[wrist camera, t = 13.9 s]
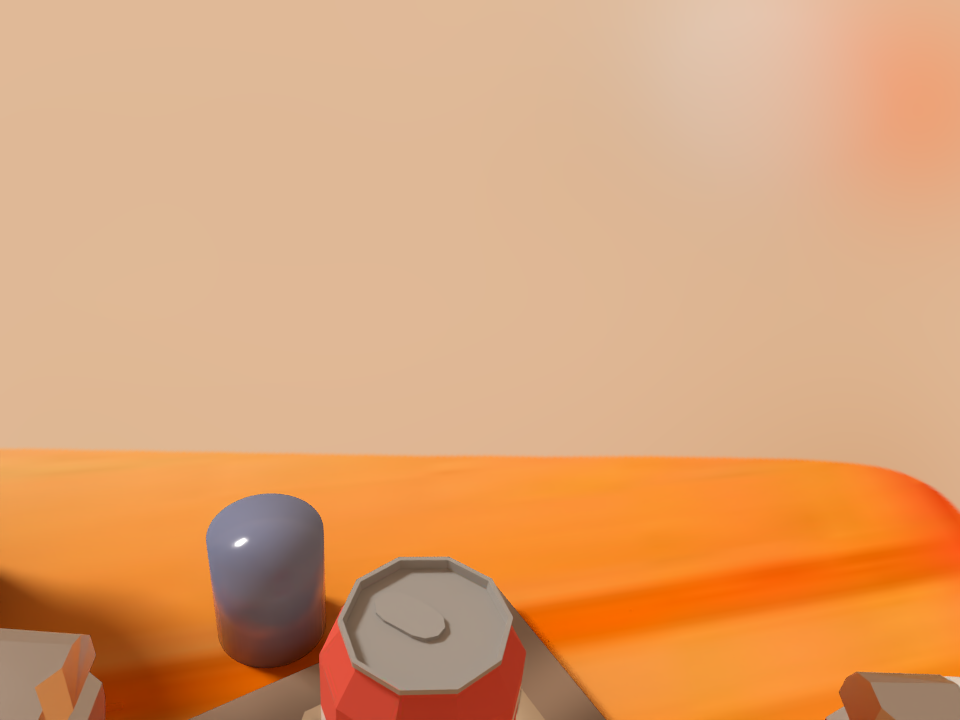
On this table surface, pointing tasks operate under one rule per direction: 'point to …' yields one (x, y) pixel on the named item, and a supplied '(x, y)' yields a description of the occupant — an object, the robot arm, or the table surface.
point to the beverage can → (422, 647)
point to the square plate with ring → (540, 713)
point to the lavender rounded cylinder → (268, 579)
